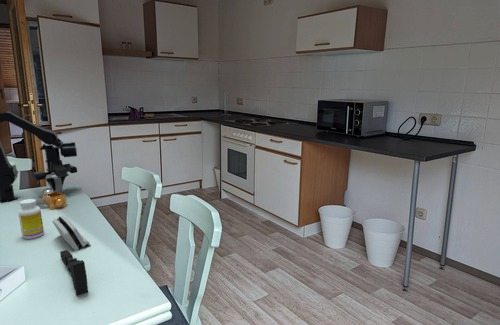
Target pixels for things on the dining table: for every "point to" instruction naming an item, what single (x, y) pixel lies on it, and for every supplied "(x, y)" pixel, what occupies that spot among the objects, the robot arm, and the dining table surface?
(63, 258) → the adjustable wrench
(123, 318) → the dining table surface
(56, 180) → the tall grey box
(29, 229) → the supplement bottle
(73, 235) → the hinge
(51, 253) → the dining table surface
